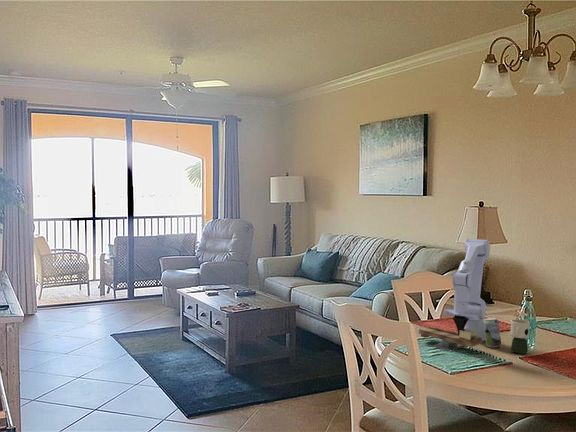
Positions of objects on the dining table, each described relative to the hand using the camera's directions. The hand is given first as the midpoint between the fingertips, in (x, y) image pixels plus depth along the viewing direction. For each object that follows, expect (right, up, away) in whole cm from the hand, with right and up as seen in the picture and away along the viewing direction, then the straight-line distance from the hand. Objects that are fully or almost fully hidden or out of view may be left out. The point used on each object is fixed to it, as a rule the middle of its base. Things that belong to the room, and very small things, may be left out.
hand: (460, 334), depth 231 cm
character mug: (+23, -7, -4) cm, 24 cm away
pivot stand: (-3, -6, +4) cm, 8 cm away
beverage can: (+15, -6, +4) cm, 16 cm away
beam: (-3, -4, +4) cm, 6 cm away
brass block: (+2, -2, -2) cm, 4 cm away
